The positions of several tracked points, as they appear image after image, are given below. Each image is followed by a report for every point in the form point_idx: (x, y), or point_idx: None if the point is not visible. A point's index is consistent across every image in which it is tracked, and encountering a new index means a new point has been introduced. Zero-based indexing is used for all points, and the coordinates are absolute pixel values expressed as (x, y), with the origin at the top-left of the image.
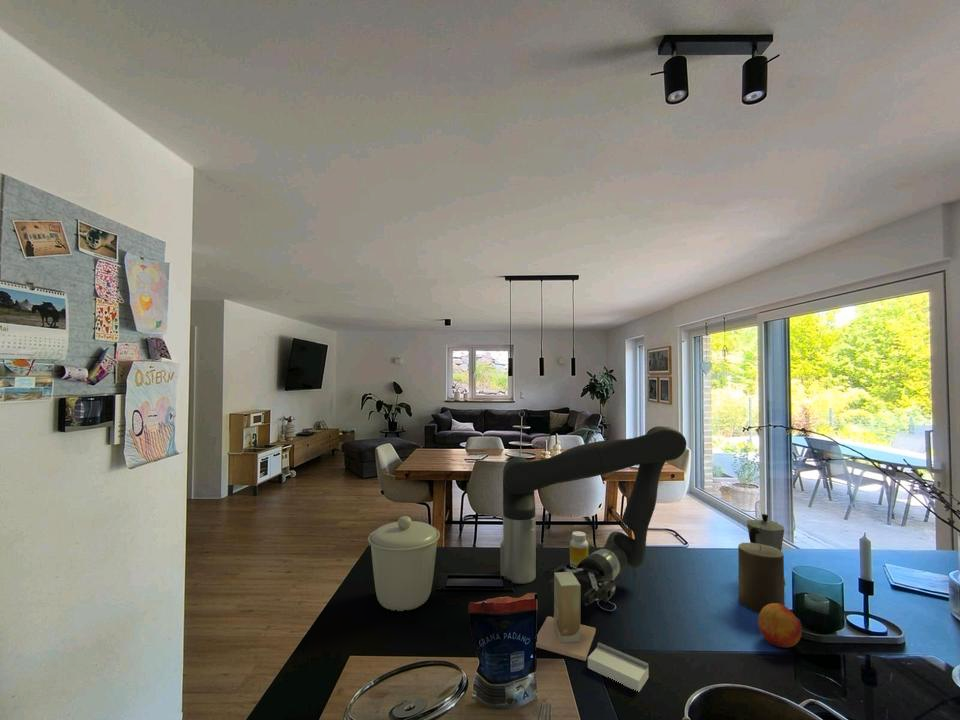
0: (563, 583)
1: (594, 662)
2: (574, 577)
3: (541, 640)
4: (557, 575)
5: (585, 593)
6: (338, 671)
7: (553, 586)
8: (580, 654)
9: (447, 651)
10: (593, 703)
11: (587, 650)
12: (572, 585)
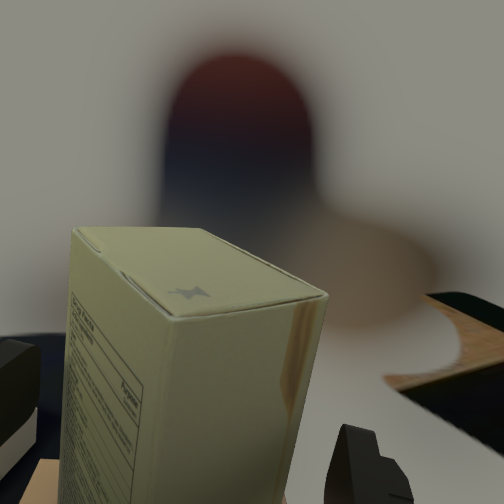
0: (196, 234)
1: None
2: (126, 263)
3: None
4: (278, 273)
5: (10, 356)
6: (498, 328)
7: (335, 482)
8: None
9: (447, 393)
10: (42, 345)
11: (20, 502)
12: (133, 228)
